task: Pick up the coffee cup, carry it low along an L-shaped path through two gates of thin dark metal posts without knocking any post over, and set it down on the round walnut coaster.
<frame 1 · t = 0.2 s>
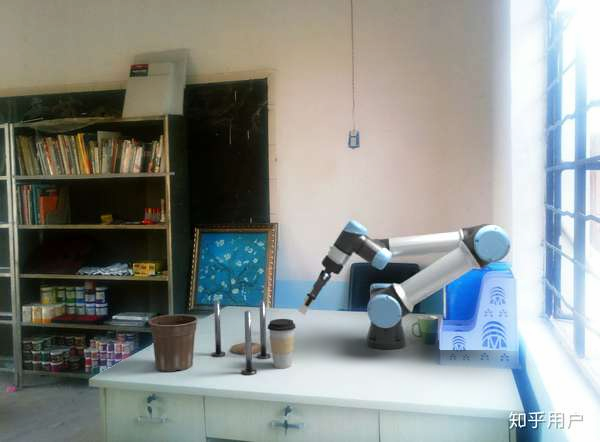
hand: (303, 307, 193), 16 cm above the table, tool tilted 35°, fingers open, 13 cm apart
coffee cup: (282, 366, 178), on the table
pole corner: (263, 356, 188), on the table
plant pot: (175, 367, 180), on the table
coaster: (247, 349, 197), on the table
pole outer: (249, 372, 172), on the table
pole far: (218, 354, 192), on the table
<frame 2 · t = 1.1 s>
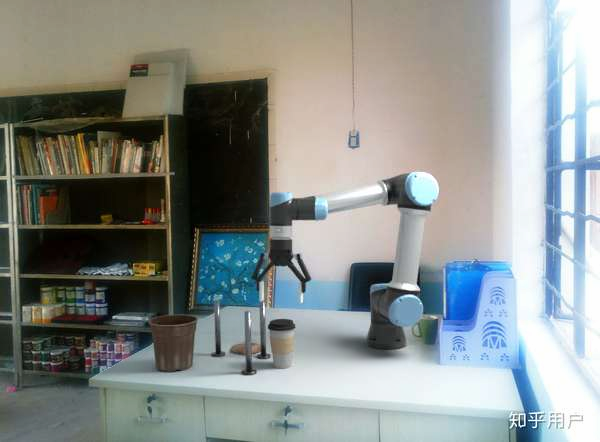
hand: (281, 301, 178), 22 cm above the table, tool pointing down, fingers open, 13 cm apart
nothing on the table moved.
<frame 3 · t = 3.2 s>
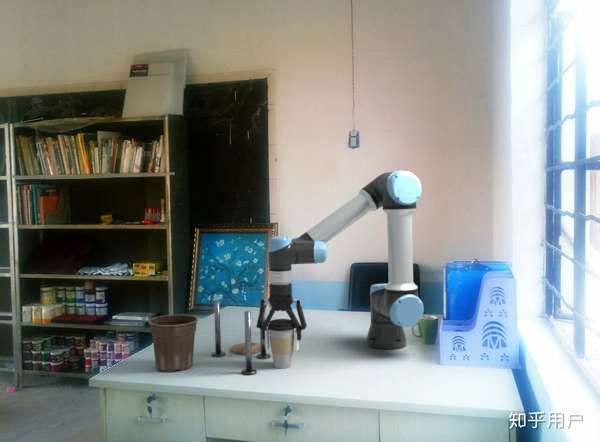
hand: (282, 349, 178), 6 cm above the table, tool pointing down, fingers closed on coffee cup, 9 cm apart
coffee cup: (282, 366, 178), on the table, touching gripper
everything else where it was.
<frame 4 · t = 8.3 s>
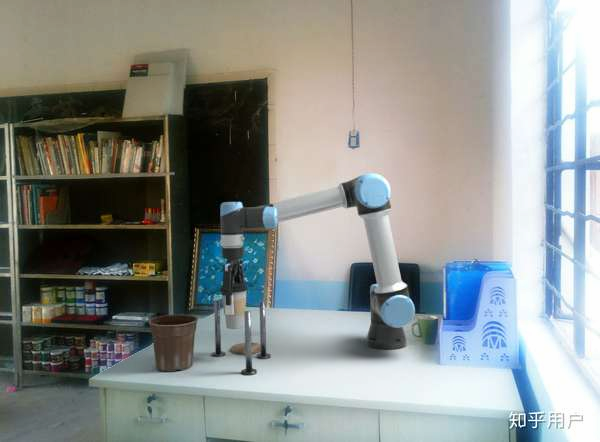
hand: (234, 311, 184), 17 cm above the table, tool pointing down, fingers closed on coffee cup, 9 cm apart
coffee cup: (235, 327, 184), point 12 cm above the table, touching gripper
everything else where it was.
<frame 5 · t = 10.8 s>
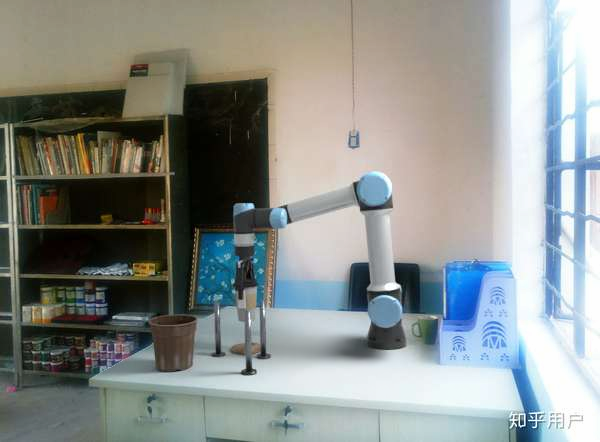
hand: (246, 305, 197), 17 cm above the table, tool pointing down, fingers closed on coffee cup, 9 cm apart
coffee cup: (246, 320, 197), point 11 cm above the table, touching gripper
everything else where it was.
when the fingers open (7 cm above the table, at t = 13.4 s): coffee cup stays where it is, resting on coaster.
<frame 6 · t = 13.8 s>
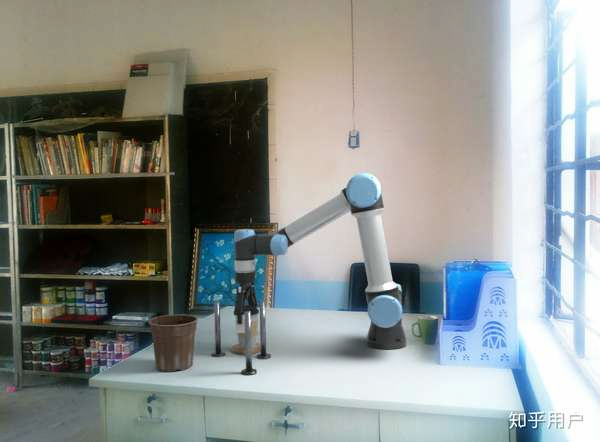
hand: (246, 328, 197), 8 cm above the table, tool pointing down, fingers open, 13 cm apart
coffee cup: (247, 347, 197), point 1 cm above the table, touching coaster
everything else where it was.
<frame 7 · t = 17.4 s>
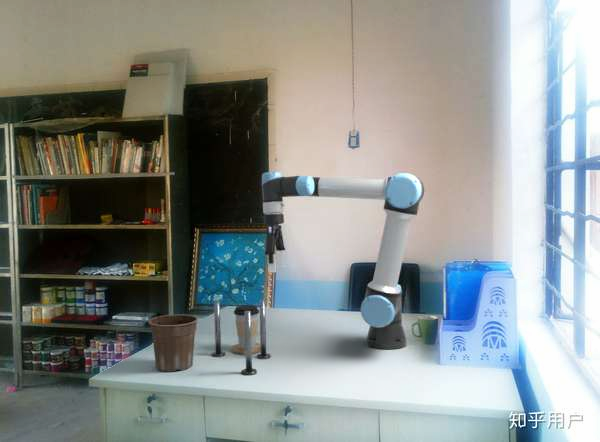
hand: (276, 269, 200), 29 cm above the table, tool pointing down, fingers open, 13 cm apart
nothing on the table moved.
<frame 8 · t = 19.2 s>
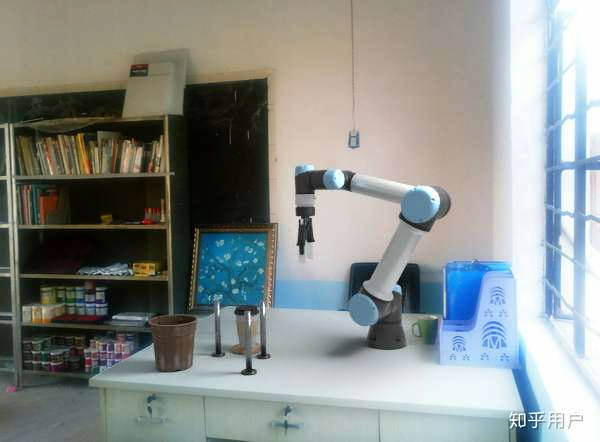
hand: (306, 261, 204), 32 cm above the table, tool pointing down, fingers open, 13 cm apart
nothing on the table moved.
at the end: coffee cup 0.2 cm from the coaster (horizontally); coffee cup tilted 1°; pole corner tilted 0° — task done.
